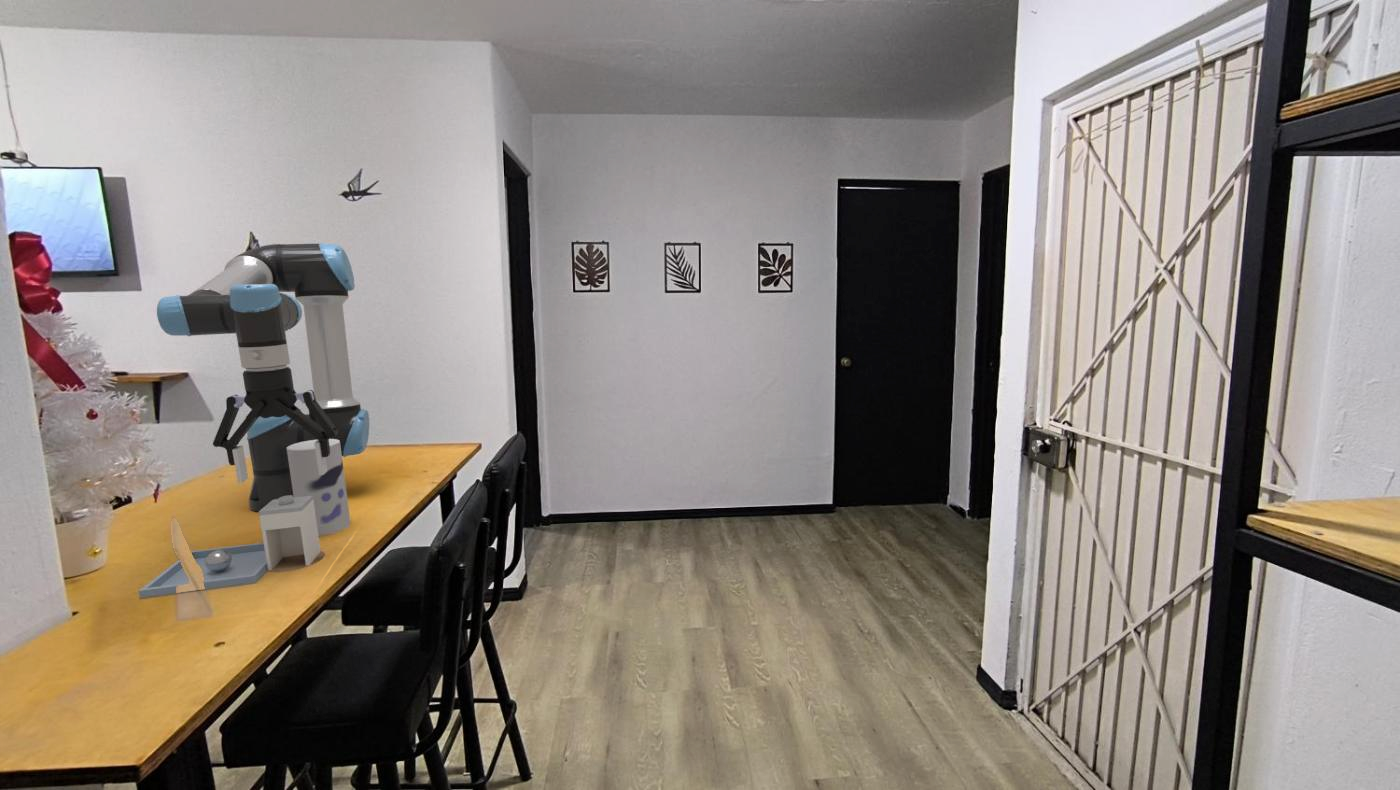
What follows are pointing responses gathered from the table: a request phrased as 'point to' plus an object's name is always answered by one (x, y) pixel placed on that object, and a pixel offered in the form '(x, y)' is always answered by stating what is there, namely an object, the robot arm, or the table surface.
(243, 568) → the tray
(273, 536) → the open-front grey box
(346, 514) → the container
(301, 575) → the table surface
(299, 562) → the coaster
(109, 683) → the table surface
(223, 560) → the ball
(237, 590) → the table surface
